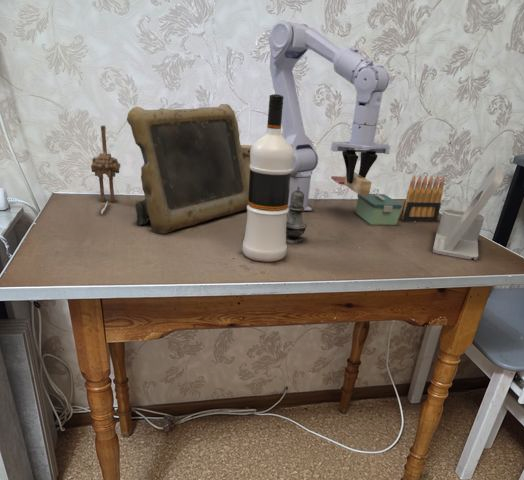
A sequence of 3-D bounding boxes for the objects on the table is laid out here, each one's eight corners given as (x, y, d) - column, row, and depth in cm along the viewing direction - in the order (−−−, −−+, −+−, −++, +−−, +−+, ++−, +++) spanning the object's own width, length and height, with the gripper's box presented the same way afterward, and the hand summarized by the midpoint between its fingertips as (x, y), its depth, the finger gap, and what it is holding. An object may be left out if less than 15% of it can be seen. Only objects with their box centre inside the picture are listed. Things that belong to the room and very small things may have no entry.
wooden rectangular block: (330, 178, 131) (332, 166, 130) (348, 179, 132) (350, 166, 131) (354, 195, 116) (357, 181, 115) (374, 195, 117) (376, 182, 116)
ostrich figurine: (97, 197, 130) (90, 124, 121) (123, 198, 132) (117, 126, 122) (86, 214, 116) (77, 133, 107) (115, 215, 117) (108, 135, 108)
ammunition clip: (402, 221, 132) (413, 175, 126) (399, 219, 134) (409, 174, 128) (437, 221, 135) (448, 176, 129) (433, 219, 136) (445, 175, 130)
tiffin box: (370, 225, 127) (375, 201, 123) (353, 212, 137) (357, 189, 134) (398, 225, 128) (403, 201, 125) (379, 212, 138) (384, 190, 135)
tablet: (173, 238, 106) (170, 112, 93) (127, 225, 112) (118, 104, 99) (253, 210, 130) (259, 107, 118) (211, 200, 136) (213, 101, 123)
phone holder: (436, 232, 125) (455, 159, 116) (477, 239, 122) (500, 165, 113) (432, 252, 111) (453, 170, 102) (478, 260, 108) (504, 177, 99)
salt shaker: (298, 245, 108) (304, 191, 102) (275, 239, 111) (280, 186, 104) (309, 239, 112) (316, 186, 106) (287, 234, 115) (293, 182, 109)
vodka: (233, 251, 102) (240, 91, 86) (268, 245, 107) (281, 92, 91) (258, 266, 96) (271, 96, 80) (294, 259, 101) (313, 97, 85)
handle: (231, 201, 137) (233, 144, 129) (252, 201, 139) (256, 145, 131) (234, 205, 133) (237, 147, 125) (257, 205, 135) (261, 148, 127)
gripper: (341, 124, 110) (332, 185, 117) (399, 127, 113) (387, 187, 120) (331, 120, 116) (323, 179, 123) (387, 123, 119) (376, 180, 126)
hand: (354, 182), depth 122 cm, fingers closed on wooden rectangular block, 2 cm apart
